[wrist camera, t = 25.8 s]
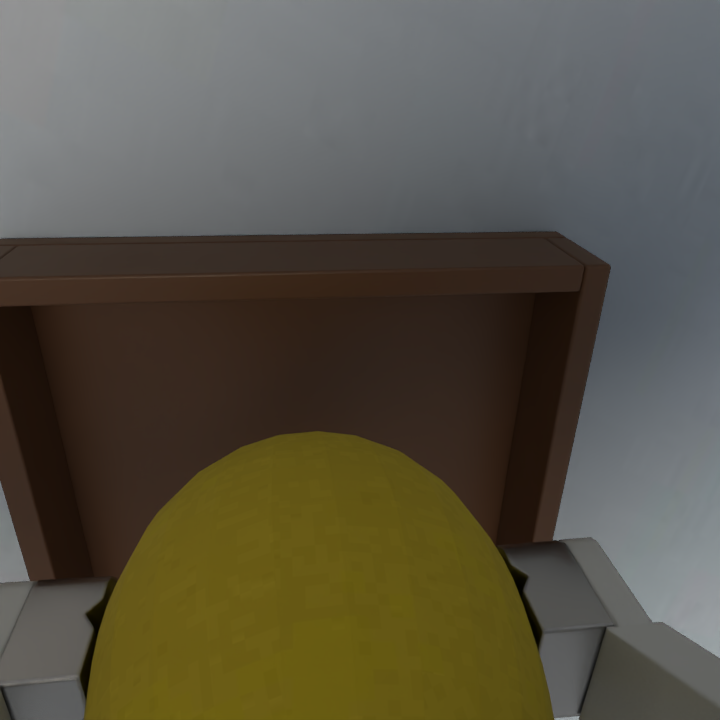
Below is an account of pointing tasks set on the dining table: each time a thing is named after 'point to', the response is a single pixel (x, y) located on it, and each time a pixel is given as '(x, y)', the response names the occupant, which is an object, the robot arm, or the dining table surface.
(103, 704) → the lemon
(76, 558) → the tray
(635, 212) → the dining table surface
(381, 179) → the dining table surface
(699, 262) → the dining table surface
